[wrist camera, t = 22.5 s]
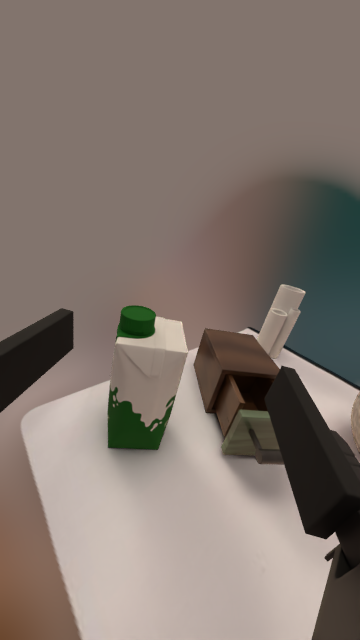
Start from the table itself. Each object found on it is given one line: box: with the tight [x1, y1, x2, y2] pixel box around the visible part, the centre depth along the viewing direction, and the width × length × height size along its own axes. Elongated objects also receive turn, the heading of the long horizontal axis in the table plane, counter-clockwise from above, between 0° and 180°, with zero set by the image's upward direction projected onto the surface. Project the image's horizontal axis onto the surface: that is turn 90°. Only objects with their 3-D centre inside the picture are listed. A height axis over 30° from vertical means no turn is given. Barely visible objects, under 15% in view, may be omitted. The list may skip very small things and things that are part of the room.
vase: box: [257, 285, 305, 359], centre depth 61 cm, size 11×7×20 cm, turn 154°
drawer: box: [214, 374, 284, 464], centre depth 34 cm, size 17×11×8 cm, turn 6°
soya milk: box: [108, 306, 188, 450], centre depth 29 cm, size 9×9×20 cm
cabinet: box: [194, 329, 280, 413], centre depth 44 cm, size 14×12×10 cm
